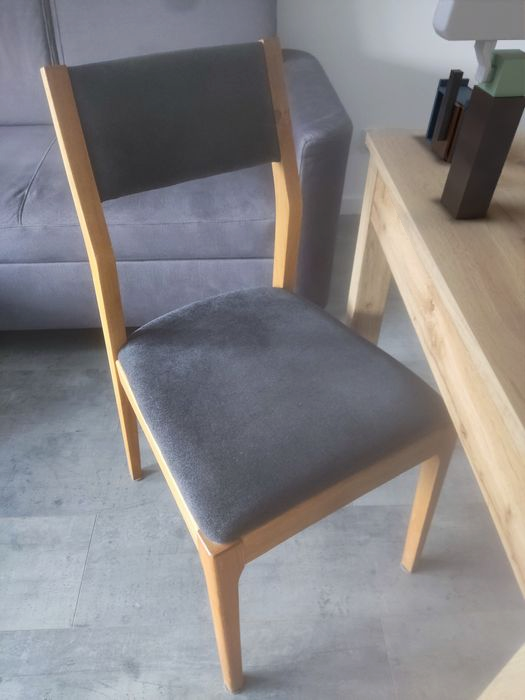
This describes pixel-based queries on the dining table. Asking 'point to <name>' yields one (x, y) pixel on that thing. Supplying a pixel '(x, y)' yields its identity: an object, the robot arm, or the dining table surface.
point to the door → (447, 115)
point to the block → (507, 73)
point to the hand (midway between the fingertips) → (504, 81)
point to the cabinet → (463, 102)
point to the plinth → (481, 153)
